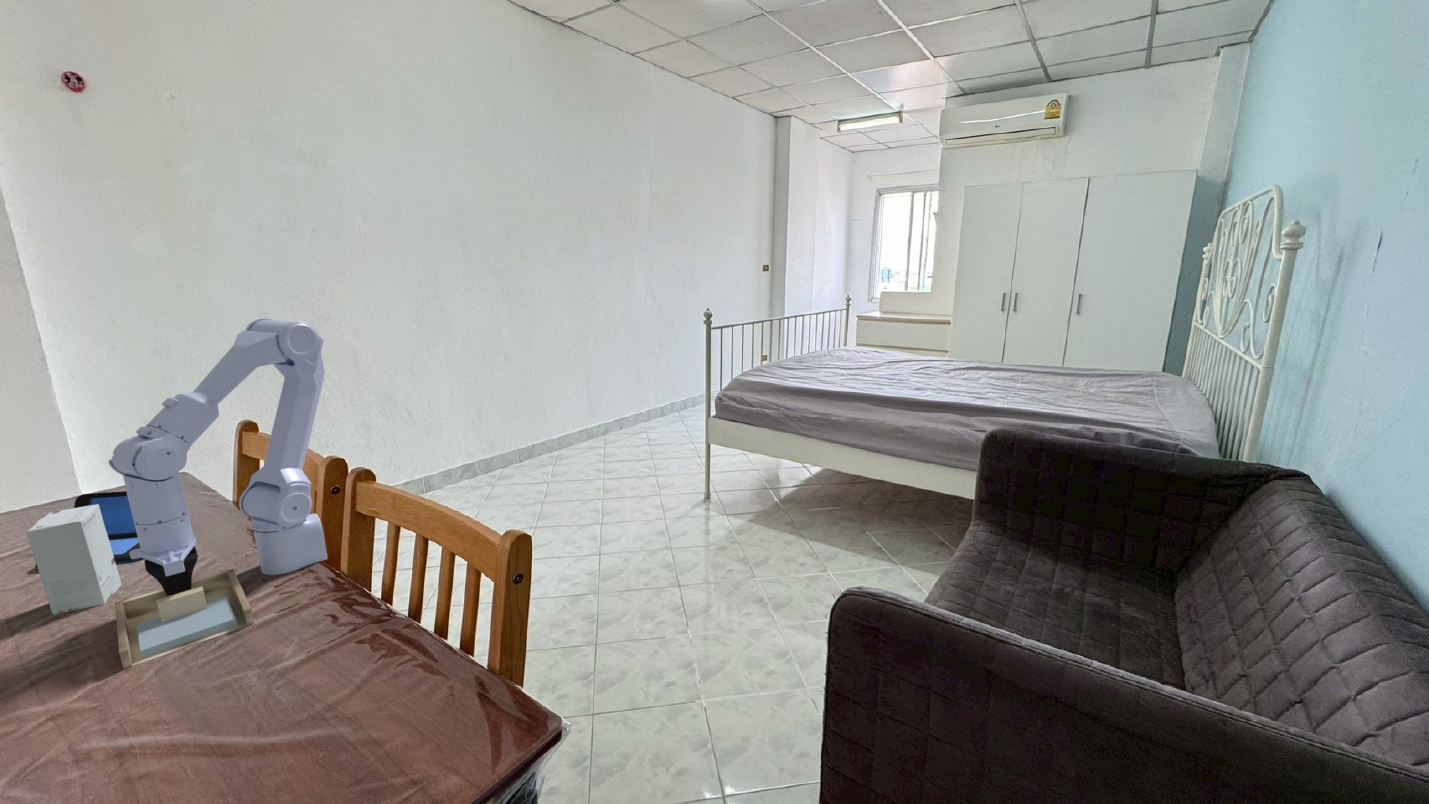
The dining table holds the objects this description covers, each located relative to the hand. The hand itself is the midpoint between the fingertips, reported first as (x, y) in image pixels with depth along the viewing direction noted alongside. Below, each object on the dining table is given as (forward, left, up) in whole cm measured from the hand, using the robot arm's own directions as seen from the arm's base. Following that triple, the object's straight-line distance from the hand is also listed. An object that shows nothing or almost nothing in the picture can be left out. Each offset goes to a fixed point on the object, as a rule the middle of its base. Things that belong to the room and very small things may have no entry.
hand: (180, 598), depth 86 cm
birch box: (0, +3, -3) cm, 4 cm away
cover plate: (0, +6, -2) cm, 6 cm away
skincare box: (+10, -16, -3) cm, 19 cm away
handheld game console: (+6, -37, -4) cm, 37 cm away
